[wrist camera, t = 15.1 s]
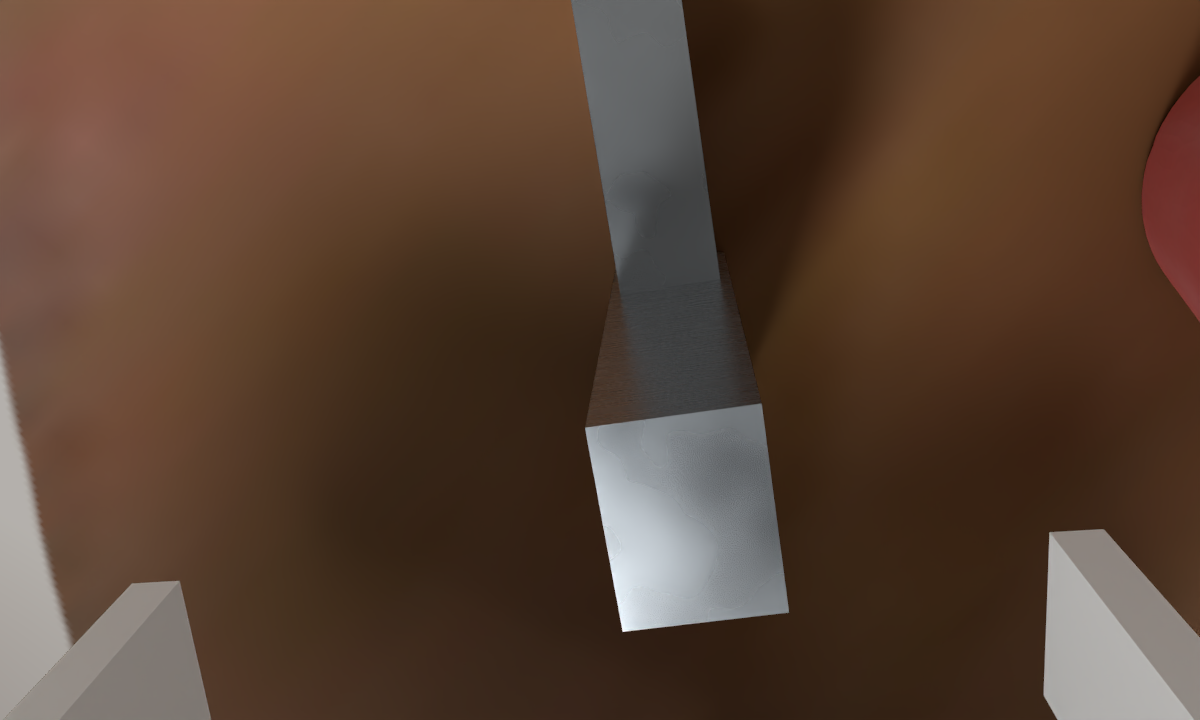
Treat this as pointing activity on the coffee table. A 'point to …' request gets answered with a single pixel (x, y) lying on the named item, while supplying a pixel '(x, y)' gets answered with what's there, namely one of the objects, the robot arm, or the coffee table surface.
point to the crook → (670, 347)
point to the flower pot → (1176, 197)
